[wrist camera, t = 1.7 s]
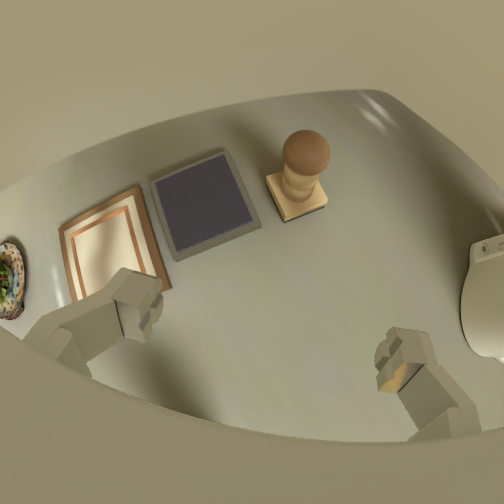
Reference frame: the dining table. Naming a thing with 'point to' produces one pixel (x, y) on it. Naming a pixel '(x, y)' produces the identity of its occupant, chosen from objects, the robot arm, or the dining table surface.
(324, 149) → the stamp
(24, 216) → the dining table surface
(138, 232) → the board
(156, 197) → the ink pad
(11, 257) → the plate of salad
